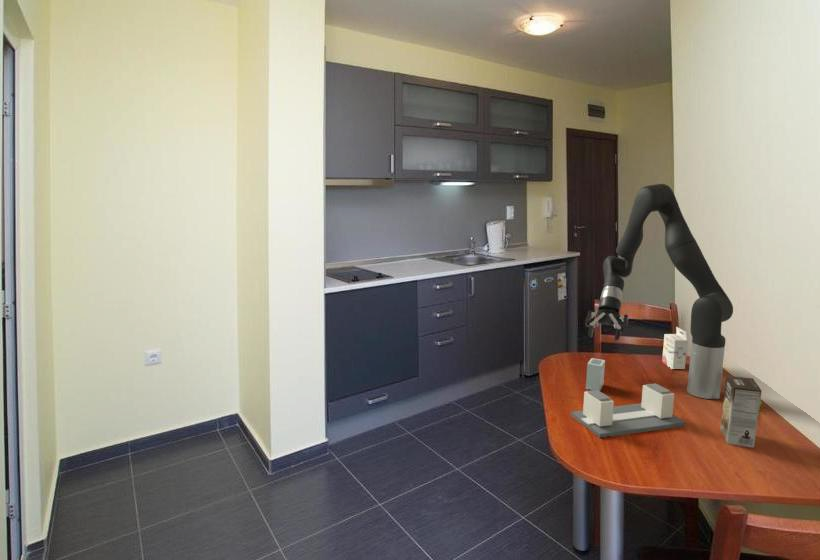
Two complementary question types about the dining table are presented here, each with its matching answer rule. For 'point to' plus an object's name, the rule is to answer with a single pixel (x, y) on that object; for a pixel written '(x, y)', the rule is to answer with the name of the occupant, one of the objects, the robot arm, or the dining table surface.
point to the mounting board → (629, 421)
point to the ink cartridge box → (675, 349)
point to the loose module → (595, 374)
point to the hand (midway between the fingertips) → (603, 338)
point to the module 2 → (657, 400)
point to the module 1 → (598, 407)
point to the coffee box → (740, 411)
